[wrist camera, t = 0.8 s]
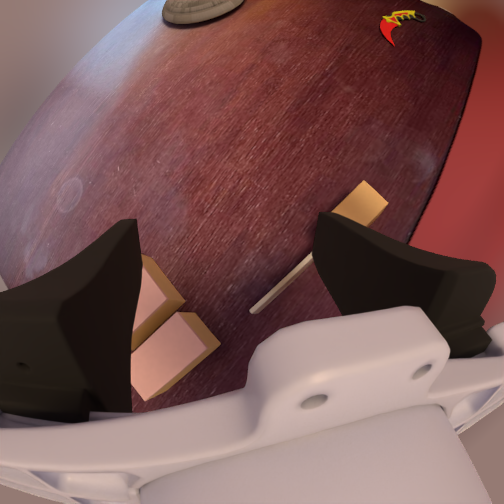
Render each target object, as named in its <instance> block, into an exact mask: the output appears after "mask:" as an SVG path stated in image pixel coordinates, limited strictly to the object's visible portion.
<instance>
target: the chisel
mask: <svg viewBox="0 0 504 504" xmlns="http://www.w3.org/2000/svg"><path fill="white" fill-rule="evenodd" d="M387 205H388V202H387V201H386V200H385V199H384V198H383V197H381V196H380V195H379V194H378V193H377V192H376V191H375V190H374V189H373V188H372V187H371V186H370V185H369V184H368V183H367V182H365V181H362V182H361V183H360V184H359V185H358V186H357V187H356V188H355V189H354V190H353V191H352V192H351V193H350V194H349V195H348V196H347V197H346V198H345V199H344V200H343V201H342V202H341V203H340V204H339V205H338V206H337V207H336V208H335V209H334V210H333V211H332V212H334V213H337V214H340V215H342V216H345V217H347V218H349V219H351V220H354V221H356V222H358V223H360V224H362V225H364V226H366V227H369V226H370V225H371V224H372V223H373V222H374V221H375V220H376V219H377V218H378V217H379V216H380V215H381V213H382V212H383V210H384V209H385V207H386V206H387ZM313 262H314V260H313V258H312V252H311V253H310V254H309V255H308V256H307V257H306V258H305V259H304V260H303V261H302V262H301V263H300V264H298V265H297V266H296V267H295V268H294V269H293V270H292V271H291V272H290V273H289V274H288V275H287V276H286V277H285V278H284V279H282V280H281V281H280V282H279V283H278V284H277V285H276V286H275V287H274V288H273V289H272V290H271V291H270V292H268V293H267V294H266V295H265V296H264V297H263V298H262V299H261V300H260V301H259V302H258V303H256V304H255V305H254V306H253V307H252V308H251V309H250V310H249V311H250V312H251V313H252V314H258V313H259V312H260V311H261V310H263V309H264V308H265V307H266V306H267V305H268V304H269V303H270V302H271V301H272V300H273V299H275V298H276V297H277V296H278V295H279V294H280V293H281V292H282V291H283V290H284V289H285V288H286V287H287V286H289V285H290V284H291V283H292V282H293V281H294V280H295V279H296V278H297V277H298V276H299V275H300V274H301V273H302V272H303V271H304V270H305V269H307V268H308V267H309V266H310V265H311V264H312V263H313Z"/></svg>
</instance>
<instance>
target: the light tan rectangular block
mask: <svg viewBox="0 0 504 504" xmlns="http://www.w3.org/2000/svg"><path fill="white" fill-rule="evenodd" d="M220 345H221V343H220V342H219V341H218V340H217V338H216V337H215V336H214V335H213V334H212V333H211V331H210V330H209V329H208V328H207V327H206V325H205V324H204V323H203V322H202V321H201V319H200V318H199V317H198V316H197V315H196V313H189V312H176V313H175V314H174V315H173V316H172V317H171V318H170V319H169V320H167V321H166V322H165V323H164V324H163V325H162V326H161V327H160V328H159V329H158V330H157V331H156V332H155V333H154V334H153V335H151V336H150V337H149V338H148V339H147V340H146V341H145V342H144V343H143V344H142V345H141V346H140V347H139V348H138V349H137V350H136V351H135V352H133V353H132V354H131V384H132V385H133V386H134V388H135V389H136V390H137V392H138V393H139V394H140V396H141V397H142V398H143V400H144V401H147V400H149V399H151V398H153V397H155V396H157V395H159V394H161V393H163V392H165V391H167V390H168V389H169V388H170V387H171V386H173V385H174V384H175V383H176V382H177V381H179V380H180V379H181V378H182V377H183V376H185V375H186V374H187V373H188V372H189V371H191V370H192V369H193V368H194V367H195V366H196V365H198V364H199V363H200V362H201V361H202V360H203V359H205V358H206V357H207V356H208V355H209V354H210V353H212V352H213V351H214V350H215V349H216V348H217V347H218V346H220Z"/></svg>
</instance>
